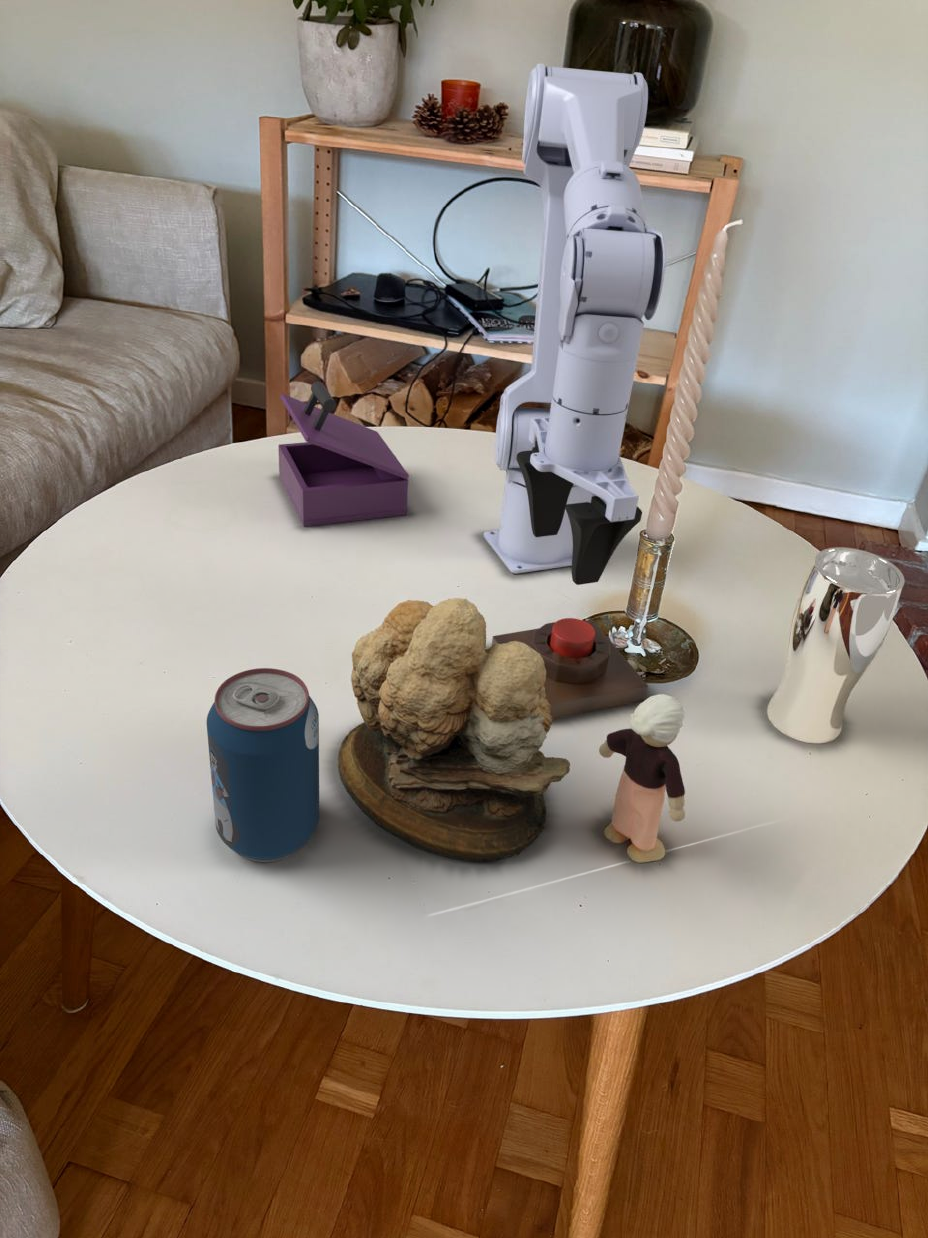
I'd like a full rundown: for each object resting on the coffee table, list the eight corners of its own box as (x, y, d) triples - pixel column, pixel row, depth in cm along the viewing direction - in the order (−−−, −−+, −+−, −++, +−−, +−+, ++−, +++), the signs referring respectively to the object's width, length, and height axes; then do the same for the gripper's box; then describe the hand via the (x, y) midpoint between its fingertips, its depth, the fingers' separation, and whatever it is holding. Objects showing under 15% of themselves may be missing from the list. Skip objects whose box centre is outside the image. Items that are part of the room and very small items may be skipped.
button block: (589, 634, 88) (595, 602, 87) (644, 701, 81) (652, 668, 79) (490, 651, 85) (494, 618, 83) (538, 722, 78) (543, 689, 76)
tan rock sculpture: (589, 802, 71) (632, 612, 61) (504, 904, 62) (537, 704, 53) (397, 700, 78) (407, 517, 69) (298, 780, 70) (293, 584, 60)
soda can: (336, 813, 68) (338, 680, 61) (287, 884, 62) (283, 747, 56) (251, 782, 69) (243, 650, 63) (196, 849, 64) (181, 712, 57)
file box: (303, 526, 100) (302, 491, 98) (279, 478, 109) (278, 444, 106) (406, 515, 104) (408, 480, 102) (375, 468, 113) (376, 435, 110)
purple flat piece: (305, 441, 95) (323, 405, 93) (279, 397, 103) (296, 363, 102) (407, 479, 102) (425, 446, 100) (375, 435, 110) (391, 404, 109)
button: (579, 631, 83) (583, 615, 82) (599, 655, 81) (603, 638, 80) (542, 637, 82) (545, 621, 81) (561, 662, 79) (564, 645, 78)
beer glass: (853, 714, 82) (914, 565, 73) (835, 760, 77) (899, 605, 68) (773, 683, 85) (824, 536, 76) (751, 726, 79) (802, 573, 71)
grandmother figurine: (688, 851, 68) (731, 715, 60) (659, 882, 65) (701, 743, 58) (599, 794, 71) (630, 659, 64) (569, 821, 69) (597, 684, 62)
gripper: (502, 368, 75) (486, 520, 83) (587, 444, 64) (559, 611, 72) (582, 363, 78) (559, 511, 85) (676, 436, 67) (640, 599, 74)
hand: (564, 556), depth 79 cm, fingers open, 7 cm apart
